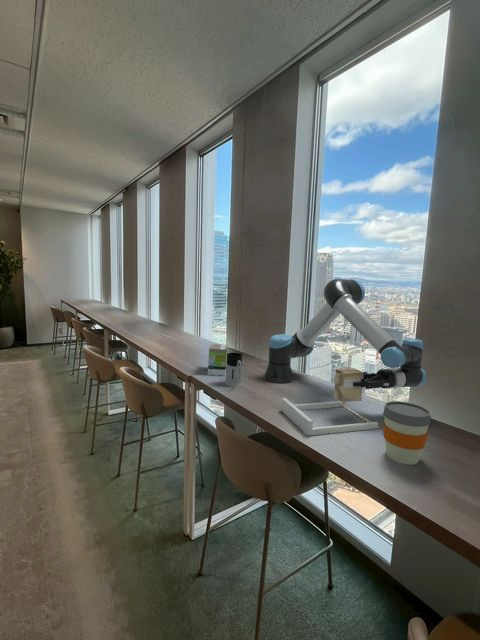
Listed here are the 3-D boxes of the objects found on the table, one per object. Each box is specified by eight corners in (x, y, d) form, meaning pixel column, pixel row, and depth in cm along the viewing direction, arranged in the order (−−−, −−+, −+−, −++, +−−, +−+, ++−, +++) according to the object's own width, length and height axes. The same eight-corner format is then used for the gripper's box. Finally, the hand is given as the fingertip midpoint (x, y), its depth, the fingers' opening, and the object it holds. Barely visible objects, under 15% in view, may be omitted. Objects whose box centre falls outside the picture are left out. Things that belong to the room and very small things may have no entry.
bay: (281, 410, 130) (282, 398, 129) (344, 405, 138) (345, 394, 138) (307, 435, 109) (308, 421, 108) (379, 428, 117) (381, 414, 117)
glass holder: (238, 380, 166) (240, 352, 165) (248, 389, 153) (249, 358, 151) (222, 381, 164) (223, 352, 162) (230, 391, 150) (231, 359, 148)
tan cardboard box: (333, 396, 126) (335, 368, 125) (351, 395, 129) (353, 368, 127) (342, 402, 121) (345, 373, 119) (361, 400, 123) (363, 372, 122)
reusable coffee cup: (373, 444, 104) (377, 399, 103) (412, 447, 104) (417, 402, 102) (389, 466, 92) (395, 416, 90) (434, 469, 92) (440, 418, 90)
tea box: (225, 376, 174) (227, 349, 172) (207, 375, 174) (208, 348, 172) (227, 368, 189) (228, 343, 187) (210, 368, 189) (211, 343, 187)
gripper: (407, 395, 121) (354, 399, 114) (372, 380, 139) (325, 383, 132) (409, 376, 120) (355, 378, 113) (374, 363, 138) (326, 365, 131)
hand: (339, 381), depth 123 cm, fingers closed on tan cardboard box, 6 cm apart
